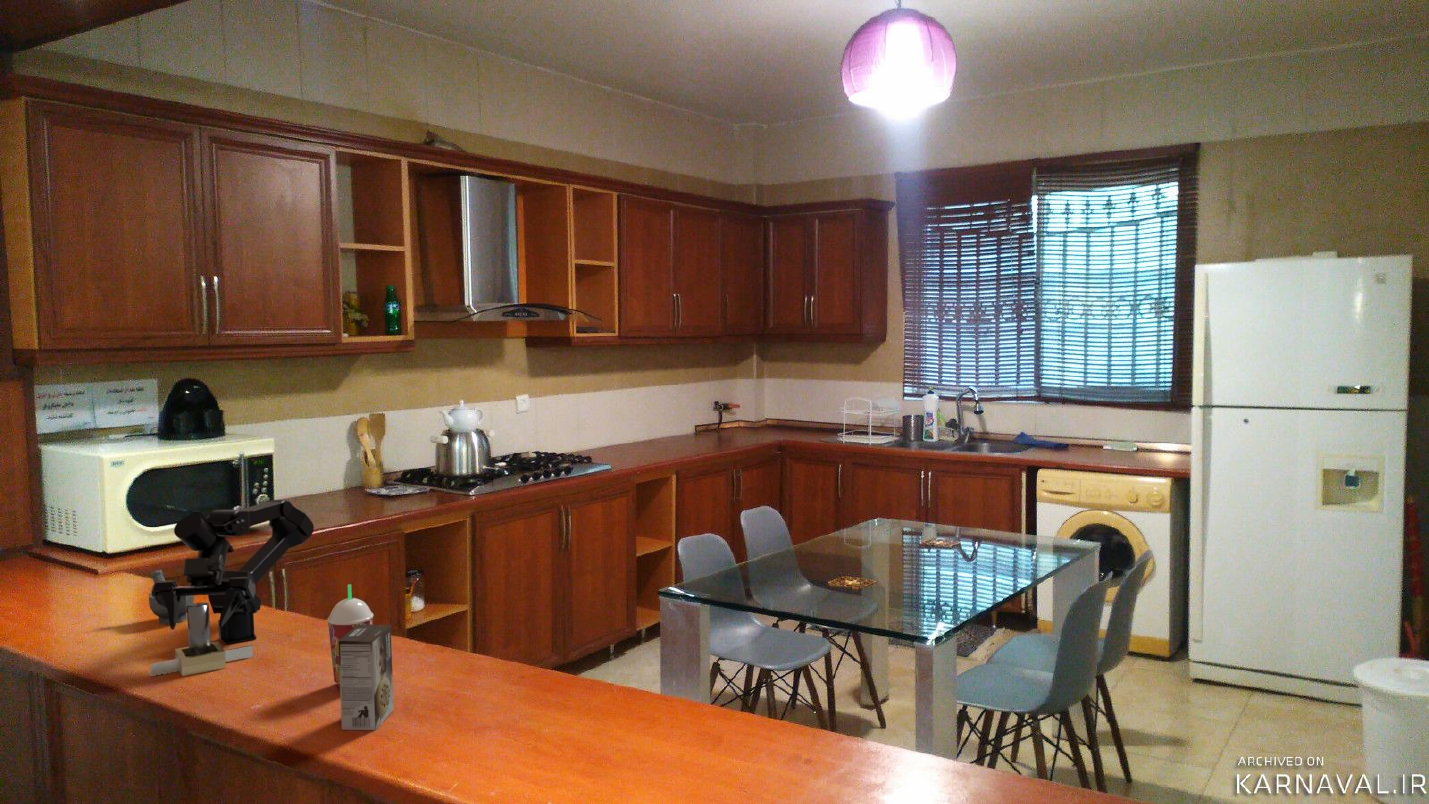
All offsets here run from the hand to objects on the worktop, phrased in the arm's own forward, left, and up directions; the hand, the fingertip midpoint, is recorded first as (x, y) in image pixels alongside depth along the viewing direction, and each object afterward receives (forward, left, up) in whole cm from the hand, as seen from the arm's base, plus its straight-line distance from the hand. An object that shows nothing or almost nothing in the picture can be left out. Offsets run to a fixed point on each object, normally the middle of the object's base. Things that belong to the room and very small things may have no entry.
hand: (196, 627), depth 200 cm
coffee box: (-20, +48, -9) cm, 52 cm away
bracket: (-1, -1, -9) cm, 9 cm away
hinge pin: (-1, -1, -9) cm, 9 cm away
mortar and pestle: (-1, -41, -9) cm, 42 cm away
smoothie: (-23, +29, -9) cm, 38 cm away
